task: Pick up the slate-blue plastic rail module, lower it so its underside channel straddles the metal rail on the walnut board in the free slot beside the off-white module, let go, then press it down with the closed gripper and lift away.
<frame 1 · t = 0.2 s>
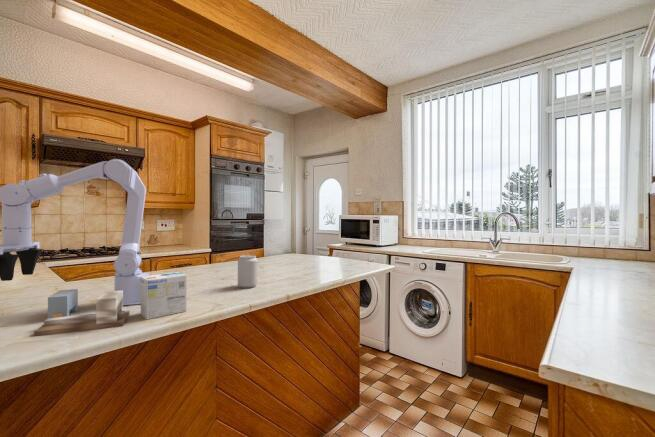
hand: (17, 277, 85), 10 cm above the counter, fingers open, 7 cm apart
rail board: (86, 324, 77), on the counter
can: (247, 286, 119), on the counter
module: (63, 314, 84), on the counter
light bulb box: (163, 313, 87), on the counter
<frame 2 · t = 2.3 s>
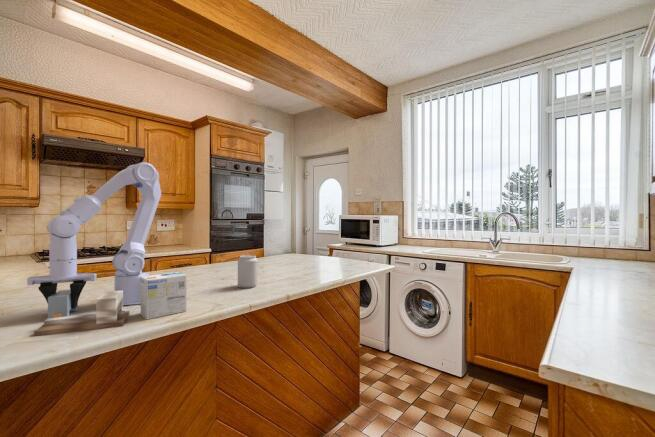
hand: (63, 308, 84), 2 cm above the counter, fingers closed on module, 4 cm apart
module: (63, 314, 84), on the counter, touching gripper
everything else where it was.
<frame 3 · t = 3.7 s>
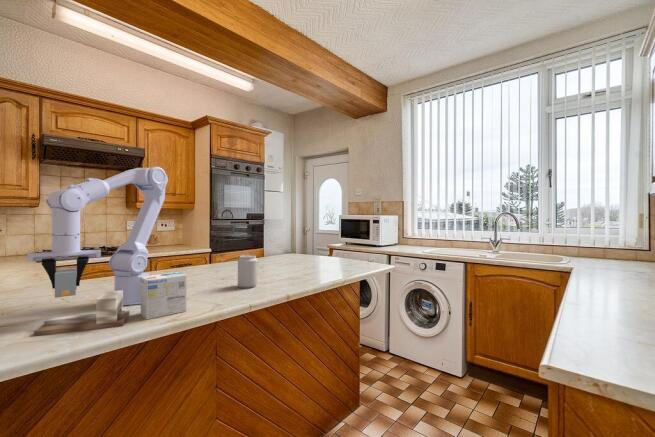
hand: (66, 286, 80), 9 cm above the counter, fingers closed on module, 4 cm apart
module: (66, 293, 80), point 7 cm above the counter, touching gripper
everything else where it was.
when the fingers open (3 cm above the counter, at t = 5.4 s): module stays where it is, resting on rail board.
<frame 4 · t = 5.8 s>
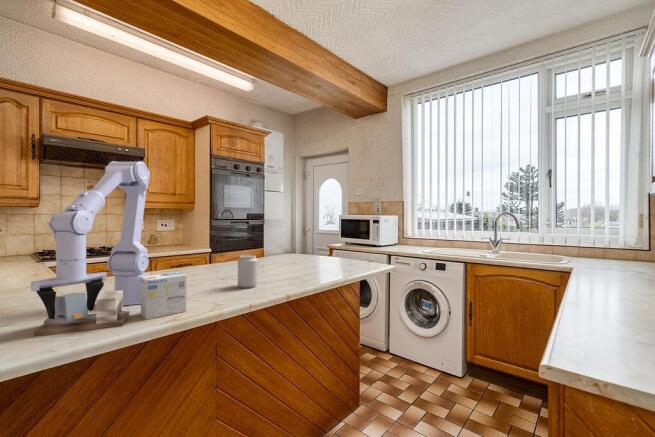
hand: (71, 313, 76), 3 cm above the counter, fingers open, 7 cm apart
module: (71, 318, 76), point 2 cm above the counter, tilted 10°, touching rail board
everything else where it was.
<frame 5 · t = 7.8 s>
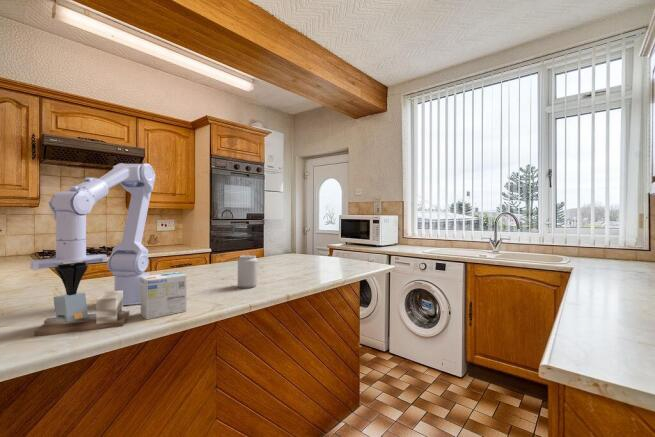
hand: (71, 294, 76), 8 cm above the counter, fingers closed, pressing on module
module: (71, 318, 76), point 2 cm above the counter, tilted 9°, touching gripper, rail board
everything else where it was.
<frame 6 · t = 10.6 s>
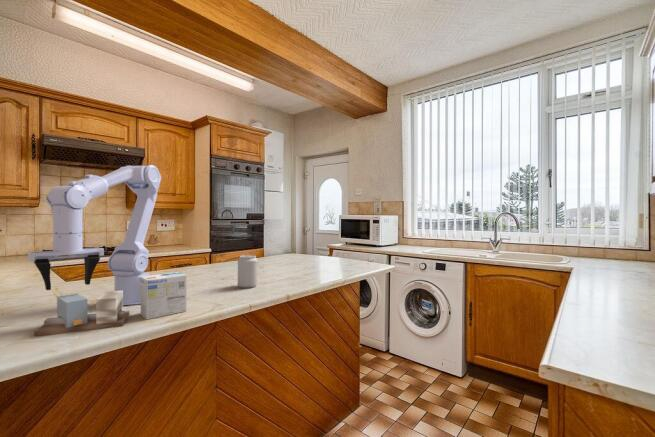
hand: (68, 286, 78), 9 cm above the counter, fingers open, 7 cm apart
module: (72, 321, 76), point 1 cm above the counter, touching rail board
everything else where it was.
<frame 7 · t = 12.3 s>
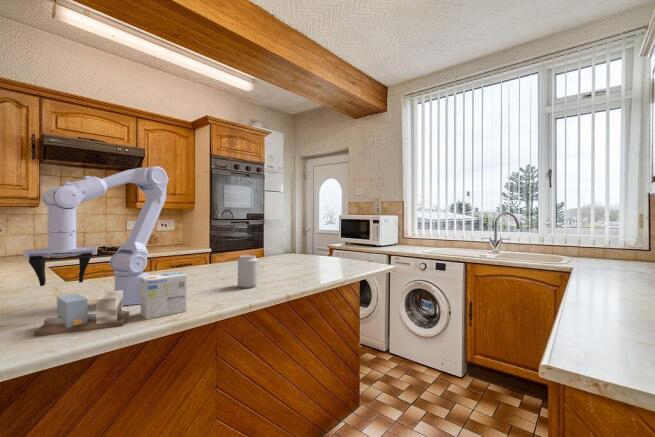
hand: (62, 283, 81), 9 cm above the counter, fingers open, 7 cm apart
nothing on the counter moved.
at the end: module 0.1 cm from the target spot on the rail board, point 1.0 cm above the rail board's base; module tilted 0°; the gripper is holding nothing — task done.
